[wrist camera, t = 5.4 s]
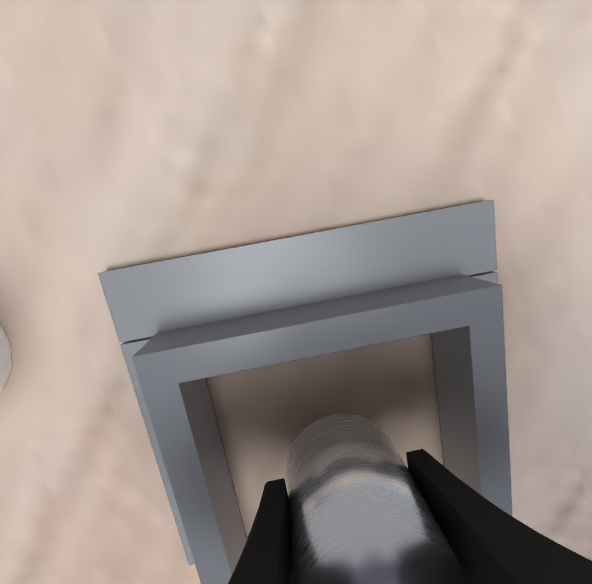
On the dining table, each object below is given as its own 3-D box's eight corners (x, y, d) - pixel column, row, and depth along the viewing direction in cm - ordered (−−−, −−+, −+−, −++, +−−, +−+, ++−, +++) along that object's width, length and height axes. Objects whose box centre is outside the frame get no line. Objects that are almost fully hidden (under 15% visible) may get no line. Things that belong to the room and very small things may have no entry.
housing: (483, 200, 13) (542, 194, 11) (499, 486, 16) (549, 543, 13) (105, 270, 13) (57, 284, 10) (192, 552, 16) (174, 626, 13)
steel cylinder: (388, 403, 13) (462, 517, 8) (400, 496, 14) (472, 649, 9) (276, 426, 13) (281, 557, 8) (297, 519, 14) (312, 686, 9)
